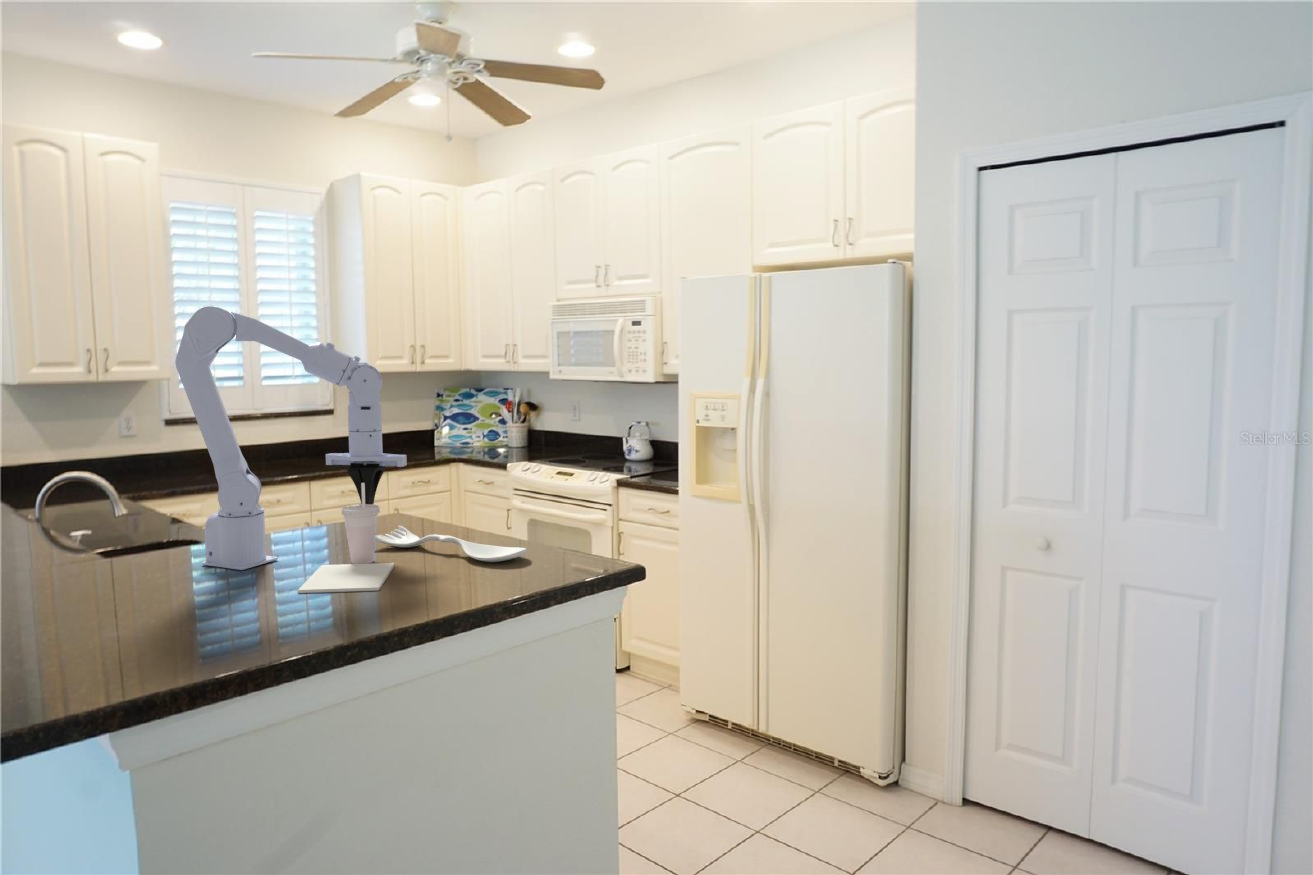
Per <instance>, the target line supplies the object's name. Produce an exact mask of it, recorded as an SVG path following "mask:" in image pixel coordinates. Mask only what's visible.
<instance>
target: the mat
mask: <svg viewBox="0 0 1313 875" xmlns="http://www.w3.org/2000/svg"><path fill="white" fill-rule="evenodd" d="M394 567H395V562H379V563H378V562H376V563H373V562H372V563H368V564H352V563H349V564H343V563H342V564H321V565H320V566H319V567H318V568H317V569H316V570H315V571H314V573H313V574H312V575H310V576H309V577H308V579H306V581H305V582H304V583H303V584H302V585H301V586H300V587H298V589H297V593H298V594H311V593H313V594H317V593H343V592H348V593H349V592H368V591H369V592H370V591H372V592H373V591H376V592H377V591H379V590H381V588H382V586H383V585H384V583H385V582H386V581H387V579H388V576H390V573H391V572H392V570H393V569H394Z"/></svg>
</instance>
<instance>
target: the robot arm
mask: <svg viewBox="0 0 1313 875" xmlns="http://www.w3.org/2000/svg"><path fill="white" fill-rule="evenodd" d="M234 338H235V340H234V341H235V342H255V343H259V344H261V345H263V346H265V347H268V348H270V349H273V350H275V351H278V352H280V353H282V354H284V355H287V356H288V357H291V358H294V359H297V360H298V361H301V364H302V366H303V368H304V371H305V372H307V373H308V374H310V375H314V376H315V377H318V378H319V379H322V380H323V381H327V382H329V383H331V384H333V385H335V386H337V387H342V386H346V388H347V389H348V405H347V423H348V424H347V425H348V426H347V427H348V451H349V452H344V453H342V452H340V453H338V452H334V453H333V452H332V453H325V466H333V465H334V466H335V465H337V466H339V465H340V466H341V465H343V466H349V468H347V470H346V471H347V472H346V473H347V474H348V476H349V477H350V479H351V481H352V482H353V484H354V486H355V488H356V491H357V493H358V497H359V500H360V504H362V489H361V483H365V504H372V505H375V504H374V502H375V498H376V494H377V489H378V486H379V483H380V480H381V479H382V476H383V474H384V472H385V470H386V467H398V468H403V467H406V466H407V456H408V455H407V454H396V453H395V454H393V453H383V450H384V449H383V422H382V421H383V420H382V418H383V417H382V404H381V394H380V391H381V389H382V387H383V382H384V381H383V379H382V376H381V374H380V372H379V370H378V369H377V368H376V367H374V366H372V365H371V364H368V362H363V361H361V357H359V356H357V355H354V357H353V356H352V355H348V354H347V353H345V352H342V351H340V350H338V349H336V348H335V347H336V346H335V344H333V343H331V342H329V341H328V342H326V344H325V343H323V342H321V341H317V342H315V343H312V344H307V343H305V342H302V341H301V340H299V339H298V338H295V337H292V336H290V335H289V334H286V333H284V332H283V331H280V330H278V329H277V328H275V327H272V326H271V325H268V324H266V323H264V322H263V321H260V320H258V319H257V318H253V317H249V316H245V315H243V314H239V313H237V312H236V313H235V312H233V311H231V312H230V311H228V310H226V309H223V308H222V307H219V306H216V305H206V306H203V307H201V308H198V310H196V311H195V312H194V313H193V314H192V315H191V317H190V318H189V319H188V321H187V322H186V323H185V324H184V327H183V333H182V337H181V340H180V344H179V347H178V350H177V354H176V357H175V367H176V370H177V373H178V375H179V379H180V381H181V384H182V386H183V389H184V392H185V394H186V397H187V399H188V402H189V403H190V407H191V409H192V410H191V411H192V413H193V415H194V417H195V420H196V423H197V425H198V428H199V430H200V433H201V435H202V438H203V441H204V443H205V446H206V448H207V449H206V450H207V451H208V453H209V456H210V458H211V461H212V464H213V468H214V473H215V478H216V481H217V483H218V492H217V501H218V505H219V506H220V508H219V509H218V511H216V512H214V513H212V514H211V515H210V516H208V518H207V519H206V522H205V524H204V546H205V548H204V549H205V561H202V562H201V564H202V565H203V566H209V567H210V566H211V567H215V568H216V567H218V568H225V569H230V570H238V571H239V570H240V571H243V570H247V569H250V568H251V569H252V568H254V567H257V566H261V565H263V564H267V563H268V564H269V563H271V562H274V561H278V559H279V557H278V556H273V555H267V547H266V546H267V545H266V524H265V523H266V521H265V520H266V519H265V508H264V507H262V506H261V505H260V504H259V502H260V496H261V493H262V483H261V481H260V479H259V478H258V476H257V475H255V474H254V473H253V472H252V471H251V470H250V468H249V465H248V462H247V460H246V459H245V457H244V455H243V453H242V451H241V448H240V446H239V443H238V440H237V438H236V437H237V436H236V434H235V432H234V430H233V427H232V424H231V421H230V419H229V415H228V413H227V411H226V408H225V406H224V403H223V400H222V397H221V395H220V392H219V390H218V387H217V384H216V381H215V379H214V376H213V373H212V371H211V368H210V367H211V365H212V364H213V362H214V360H215V358H216V357H217V355H218V354H219V351H220V350H221V349H223V348H224V347H225V346H226V345H228V344H229V343H230V342H231V341H233V339H234ZM360 361H361V362H360Z"/></svg>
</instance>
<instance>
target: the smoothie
mask: <svg viewBox="0 0 1313 875" xmlns="http://www.w3.org/2000/svg"><path fill="white" fill-rule="evenodd" d="M361 489H362V504H361V503H360V504H351V505H347V506H343V507H341V513H340V514H341V516H343V520H344V527H345V532H346V539H347V545H348V551H349V556H350V564H373V562H374V558H375V551H376V550H375V549H376V541H375V540H376V535H377V528H378V520H379V519H378V518H379V517H378V515H379V514H380V513H381V511H380V506H379V505H377V504H365V483H361Z"/></svg>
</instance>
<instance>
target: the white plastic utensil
mask: <svg viewBox="0 0 1313 875" xmlns="http://www.w3.org/2000/svg"><path fill="white" fill-rule="evenodd" d="M429 541H437V542H440V543H453V544H456V545H458V546H460V547H461V549H462V551H463V552H464V553H465V555H467V556H468V557H470V558H472V559H474V560H478V561H481V562H486V563H499V562H505V561H509V560H512V559H516V558H519V557H522V556H523V555H525V554H526V553H527V551H528V549H527V547H519V546H517V547H512V546H511V547H510V546H502V545H501V546H500V545H492V544H491V545H490V544H482V543H476V542H471V541H468V540H463V539H461V538H458V537H455V536H452V535H446V534H428V535H425V536H424V537H423V536H422V537H421V538H420V536H418V535H416V534H414V533H412V532H411V531H409V529H407V528H406V527H404V526H403V525H397V528H396V529H393V531H390V534H389V533H385V534H384V535H383V534H378V535H377V534H376V540H375V543H376V542H377V543H381V544H384V545H387V546H388V545H389V546H392V547H396V548H397V547H398V548H413V547H417V546H419V545H422V544H423V543H426V542H429Z"/></svg>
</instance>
